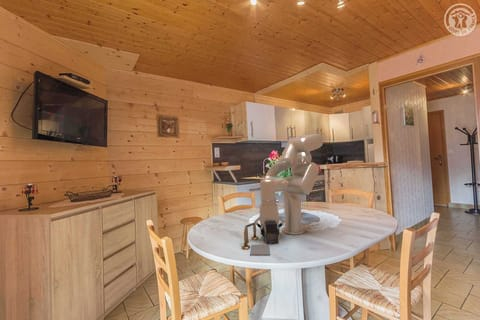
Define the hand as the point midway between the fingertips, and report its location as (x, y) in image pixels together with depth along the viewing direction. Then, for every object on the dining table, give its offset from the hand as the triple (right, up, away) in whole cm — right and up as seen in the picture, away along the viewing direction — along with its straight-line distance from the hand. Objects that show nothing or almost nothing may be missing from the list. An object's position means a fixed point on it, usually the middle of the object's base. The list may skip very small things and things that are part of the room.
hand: (270, 235), depth 120 cm
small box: (0, -3, 0) cm, 3 cm away
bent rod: (-10, -3, -3) cm, 11 cm away
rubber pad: (-6, -3, -12) cm, 14 cm away
